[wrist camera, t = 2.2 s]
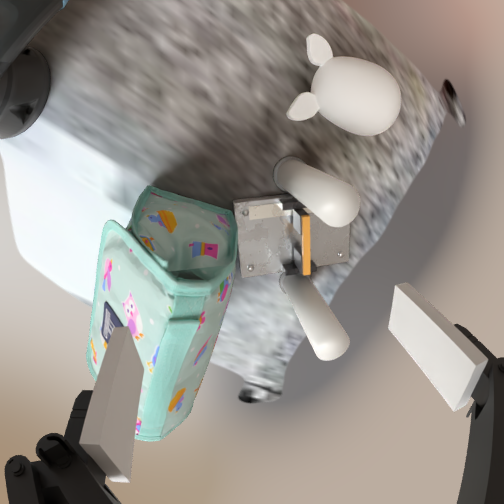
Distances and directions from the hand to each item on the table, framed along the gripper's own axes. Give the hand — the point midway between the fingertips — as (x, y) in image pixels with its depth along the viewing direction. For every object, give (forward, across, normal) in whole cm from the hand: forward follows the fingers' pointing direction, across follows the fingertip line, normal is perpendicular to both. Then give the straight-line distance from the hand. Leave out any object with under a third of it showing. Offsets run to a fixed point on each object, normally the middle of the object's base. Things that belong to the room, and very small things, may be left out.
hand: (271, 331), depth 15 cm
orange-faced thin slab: (+32, +10, -8) cm, 35 cm away
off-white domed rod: (+34, +10, +1) cm, 36 cm away
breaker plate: (+34, +10, -8) cm, 37 cm away
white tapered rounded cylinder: (+35, +10, -17) cm, 40 cm away
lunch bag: (+35, -10, -10) cm, 37 cm away
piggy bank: (+34, +17, +14) cm, 41 cm away
